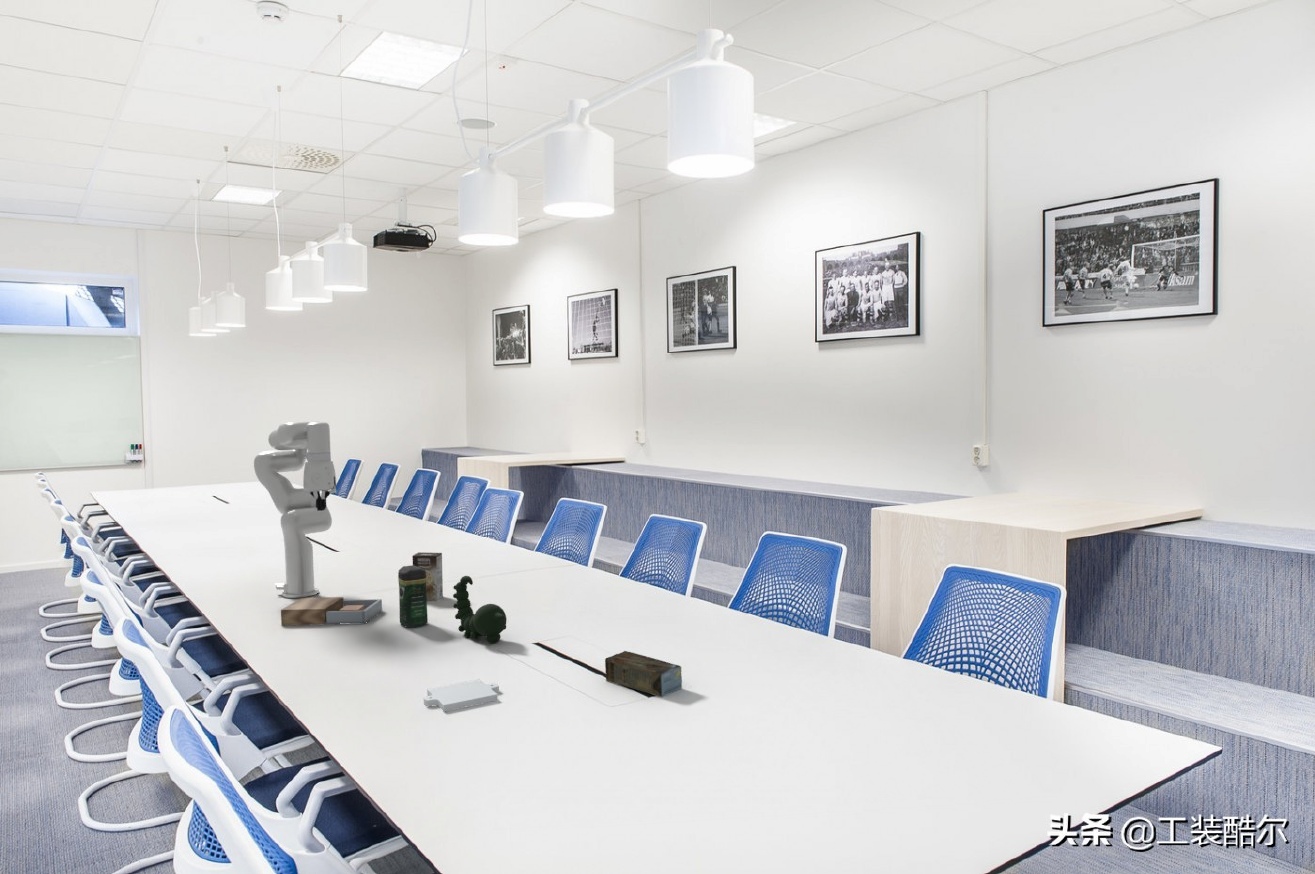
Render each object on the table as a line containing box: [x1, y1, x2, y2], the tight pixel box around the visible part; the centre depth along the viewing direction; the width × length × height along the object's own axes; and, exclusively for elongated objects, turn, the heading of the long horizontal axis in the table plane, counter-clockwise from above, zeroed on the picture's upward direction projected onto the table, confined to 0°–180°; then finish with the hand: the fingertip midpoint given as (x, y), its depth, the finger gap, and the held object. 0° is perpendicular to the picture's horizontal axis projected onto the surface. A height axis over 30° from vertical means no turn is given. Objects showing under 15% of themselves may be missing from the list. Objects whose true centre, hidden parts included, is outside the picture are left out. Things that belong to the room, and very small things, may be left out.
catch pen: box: [324, 598, 383, 625], centre depth 283 cm, size 13×16×4 cm
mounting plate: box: [423, 678, 500, 713], centre depth 206 cm, size 18×13×2 cm
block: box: [339, 605, 365, 611], centre depth 282 cm, size 6×6×3 cm
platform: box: [280, 596, 344, 626], centre depth 283 cm, size 14×16×5 cm
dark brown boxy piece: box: [604, 650, 683, 698], centre depth 212 cm, size 8×19×7 cm, turn 49°
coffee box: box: [412, 552, 444, 601], centre depth 307 cm, size 9×6×16 cm
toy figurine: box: [452, 575, 507, 645], centre depth 255 cm, size 9×19×25 cm
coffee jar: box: [397, 564, 429, 628], centre depth 272 cm, size 10×8×19 cm
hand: (321, 510), depth 301 cm, fingers closed
